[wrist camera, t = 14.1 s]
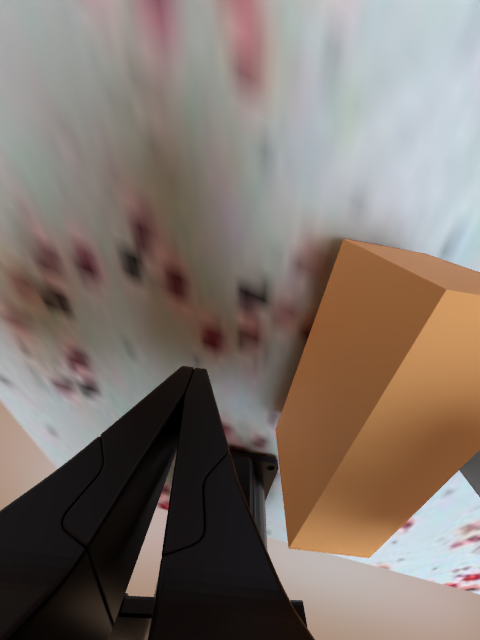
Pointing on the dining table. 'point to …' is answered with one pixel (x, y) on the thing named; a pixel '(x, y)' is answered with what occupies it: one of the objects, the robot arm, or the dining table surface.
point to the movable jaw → (381, 399)
